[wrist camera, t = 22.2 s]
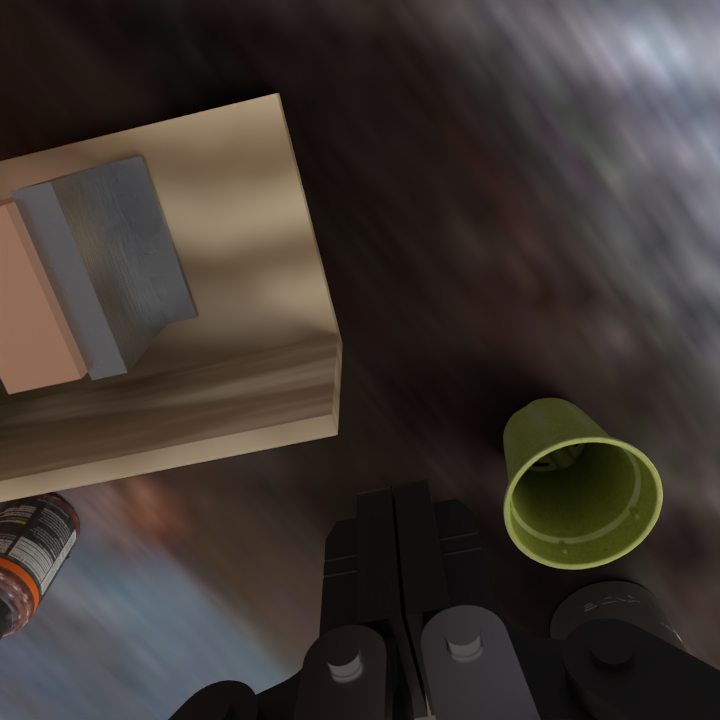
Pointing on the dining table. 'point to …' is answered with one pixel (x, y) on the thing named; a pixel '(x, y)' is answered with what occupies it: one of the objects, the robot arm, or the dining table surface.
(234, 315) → the rack
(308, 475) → the dining table surface
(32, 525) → the supplement bottle
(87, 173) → the bookend
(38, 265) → the tan rectangular block
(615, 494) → the plant pot
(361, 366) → the dining table surface
